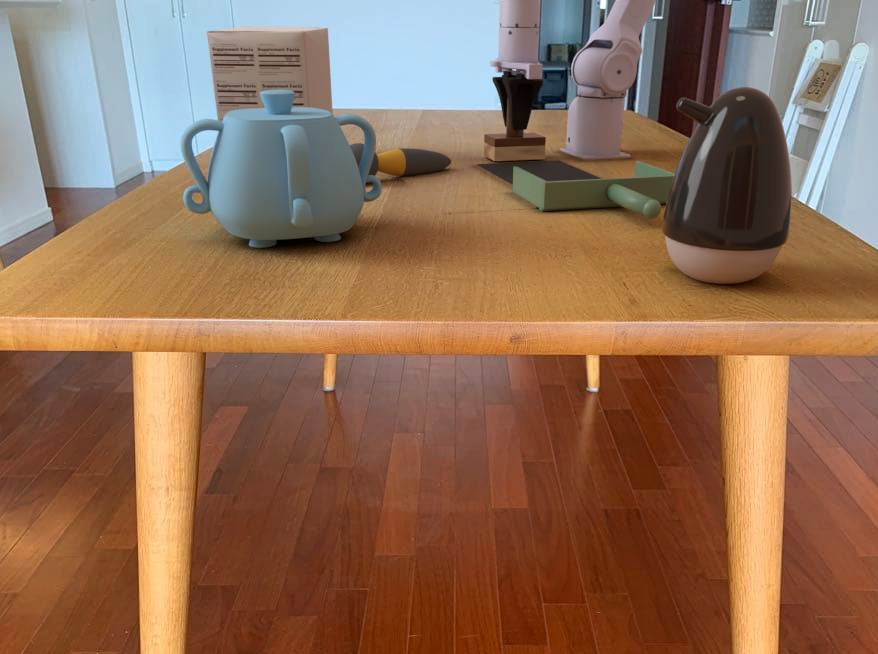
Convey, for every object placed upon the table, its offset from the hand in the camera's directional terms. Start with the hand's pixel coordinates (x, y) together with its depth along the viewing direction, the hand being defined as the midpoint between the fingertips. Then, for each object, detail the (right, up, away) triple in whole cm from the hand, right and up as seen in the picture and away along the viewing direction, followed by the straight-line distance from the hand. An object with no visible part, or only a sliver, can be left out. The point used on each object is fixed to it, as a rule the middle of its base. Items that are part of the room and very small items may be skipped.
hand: (515, 128), depth 120 cm
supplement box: (-35, -5, 0) cm, 35 cm away
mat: (+3, -9, -8) cm, 13 cm away
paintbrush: (-18, -11, -11) cm, 23 cm away
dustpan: (+9, -18, -27) cm, 34 cm away
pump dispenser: (+14, -30, -50) cm, 60 cm away
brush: (0, -4, +2) cm, 4 cm away
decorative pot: (-25, -24, -38) cm, 52 cm away
